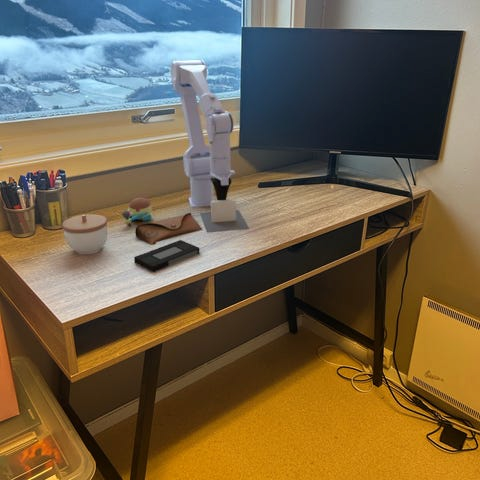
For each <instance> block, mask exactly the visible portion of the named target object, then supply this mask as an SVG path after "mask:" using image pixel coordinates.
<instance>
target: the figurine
mask: <svg viewBox="0 0 480 480" xmlns="http://www.w3.org/2000/svg"><path fill="white" fill-rule="evenodd" d="M151 214H152V205H151V202H150V201H149V200H148V199H146V198H145V197H135V198H134V199H132V200H131V201H130V203H129V204H128V209H127V210H124V211H123V212H122V217H123V218H125V220H124V221H125V223H126V225H127V227H132V224H131V222H133V221H135V220H141V221H143V222H147V221H150V220H151V219H152V215H151Z"/></svg>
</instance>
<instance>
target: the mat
mask: <svg viewBox="0 0 480 480" xmlns="http://www.w3.org/2000/svg"><path fill="white" fill-rule="evenodd" d="M199 215H200V216H201V220H202V222H203V225H204V229H205V231H206V233H216V232H227V231H228V232H229V231H239V230H241V231H242V230H250V227H249V226H248V224H247V222H246V220H245V219H244V217H243V215H242V213H241V212H240V210H239V209H236V221H223V222H212V221H211V211H209V212H199Z"/></svg>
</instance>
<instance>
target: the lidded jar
mask: <svg viewBox="0 0 480 480" xmlns="http://www.w3.org/2000/svg"><path fill="white" fill-rule="evenodd" d="M107 219H108V218H107V217H105V216H103V215H101V214H91V213H90V214H79V215H76V216H72V217H69V218H68V219H66V220H64V221H62V223H61V225H62V226H61V227H62V229H63V235H64V237H65V240H66V243H67V244H68V247H70V249H72V250H73V251H75V252H76V253H77V254H79V255H85V256H87V255H92V254H96V253H98V252H100V251H101V250H102V248H103V247H104V246H105V244H106V242H107V239H108V220H107Z"/></svg>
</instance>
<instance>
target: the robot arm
mask: <svg viewBox="0 0 480 480" xmlns="http://www.w3.org/2000/svg"><path fill="white" fill-rule="evenodd" d="M170 66H171V67H170V78H171V83H172V86H173V91H174V92H175V93H176V94H179V97H180V102H181V108H182V113H183V116H184V117H183V118H184V123H185V129H186V133H187V139H188V143H189V147H188V148H187V150H185V152H184V153H183V156H182V159H183V170H184V174H185V175H186V177H188V178H189V183H190V197H188V200H189V204H190V207H191V208H199V207H200V208H201V207H211V201H215V198H214V193H215V197H216V201H217V200H227V195H228V192H229V189H230V186H231V185H232V179H231V175H235V174H236V172H235V170H234V169H231V134H232V133H233V131H234V118H233V116H232V114H231V112H230V111H227V110H226V109H224V108H223V105H222V103H221V101H220V100H219V98H218V96H217V95H216V94H215V93H212V91H211V89H210V87H209V85H208V81H207V75H208V68H207V63H206V62H205V60H204V59H199V60H198V59H197V60H196V59H195V60H173V62H172V63H171V65H170ZM197 96H198V98H199V100H197ZM199 109H200V110H201V113H202V114H203V116H204V119H205V123H204V124H205V130H206V131H205V132H206V134H207V140H208V142H209V146H208V145H207V144H206V140H205V135H204V131H203V126H202V121H201V114H200V110H199ZM214 191H215V192H214Z"/></svg>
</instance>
